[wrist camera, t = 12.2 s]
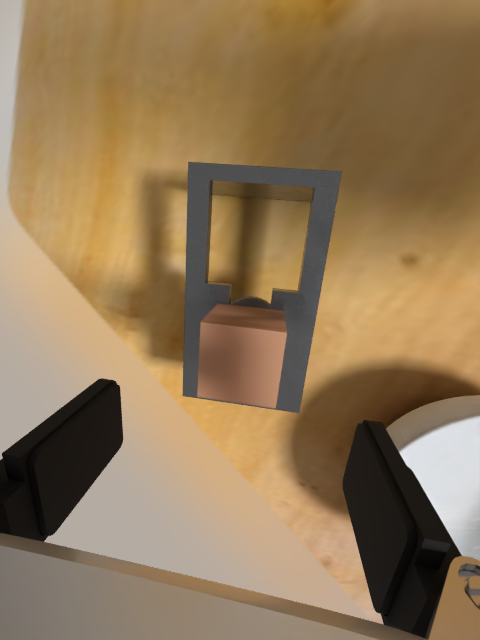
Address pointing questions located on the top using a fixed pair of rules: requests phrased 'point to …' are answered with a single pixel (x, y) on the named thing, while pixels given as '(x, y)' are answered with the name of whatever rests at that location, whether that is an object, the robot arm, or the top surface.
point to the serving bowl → (446, 463)
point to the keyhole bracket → (295, 304)
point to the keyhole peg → (242, 352)
